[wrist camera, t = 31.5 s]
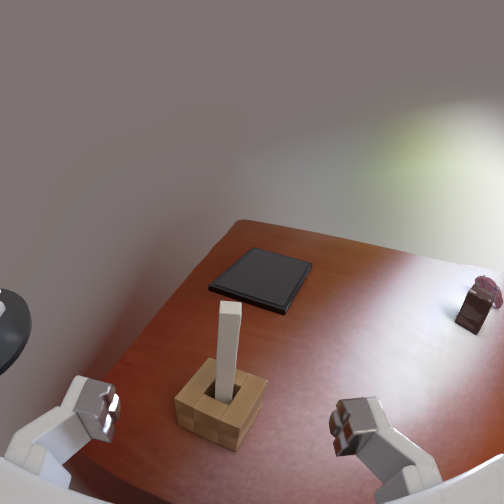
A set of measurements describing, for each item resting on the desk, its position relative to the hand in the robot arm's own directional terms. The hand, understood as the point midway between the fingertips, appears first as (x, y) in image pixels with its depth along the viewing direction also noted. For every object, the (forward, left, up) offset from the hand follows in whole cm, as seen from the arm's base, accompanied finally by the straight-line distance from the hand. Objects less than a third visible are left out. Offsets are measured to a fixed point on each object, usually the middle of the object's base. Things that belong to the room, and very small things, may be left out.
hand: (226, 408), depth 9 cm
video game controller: (+42, +62, -19) cm, 77 cm away
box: (+32, +47, -19) cm, 60 cm away
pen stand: (-5, +11, -19) cm, 22 cm away
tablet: (-12, +43, -19) cm, 48 cm away
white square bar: (-5, +11, -19) cm, 22 cm away
